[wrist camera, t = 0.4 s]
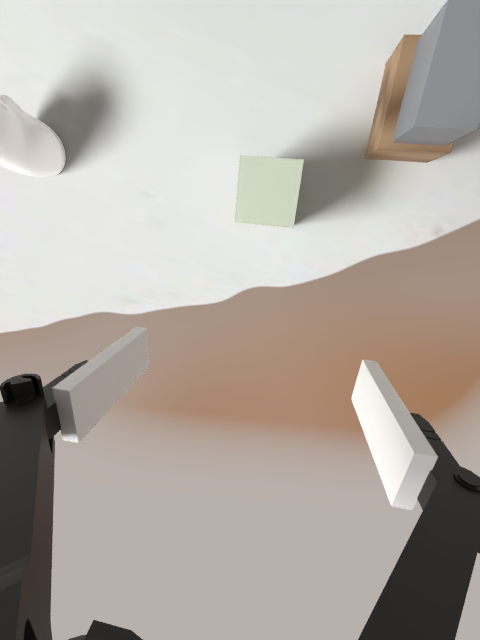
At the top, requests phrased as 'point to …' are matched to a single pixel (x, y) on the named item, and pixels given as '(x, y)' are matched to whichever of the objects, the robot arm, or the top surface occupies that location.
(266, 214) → the sage block
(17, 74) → the top surface
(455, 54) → the tower top
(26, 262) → the top surface
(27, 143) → the figurine
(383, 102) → the tower base
